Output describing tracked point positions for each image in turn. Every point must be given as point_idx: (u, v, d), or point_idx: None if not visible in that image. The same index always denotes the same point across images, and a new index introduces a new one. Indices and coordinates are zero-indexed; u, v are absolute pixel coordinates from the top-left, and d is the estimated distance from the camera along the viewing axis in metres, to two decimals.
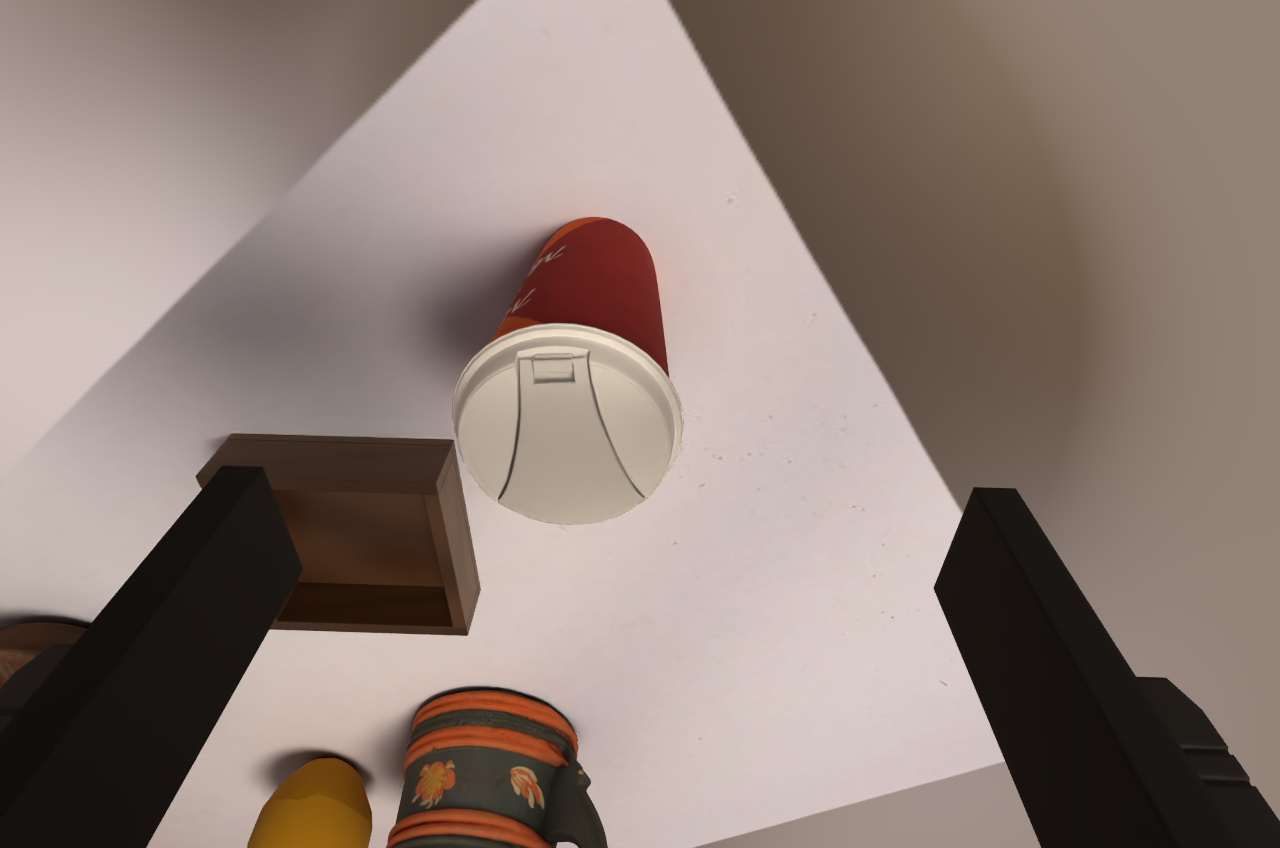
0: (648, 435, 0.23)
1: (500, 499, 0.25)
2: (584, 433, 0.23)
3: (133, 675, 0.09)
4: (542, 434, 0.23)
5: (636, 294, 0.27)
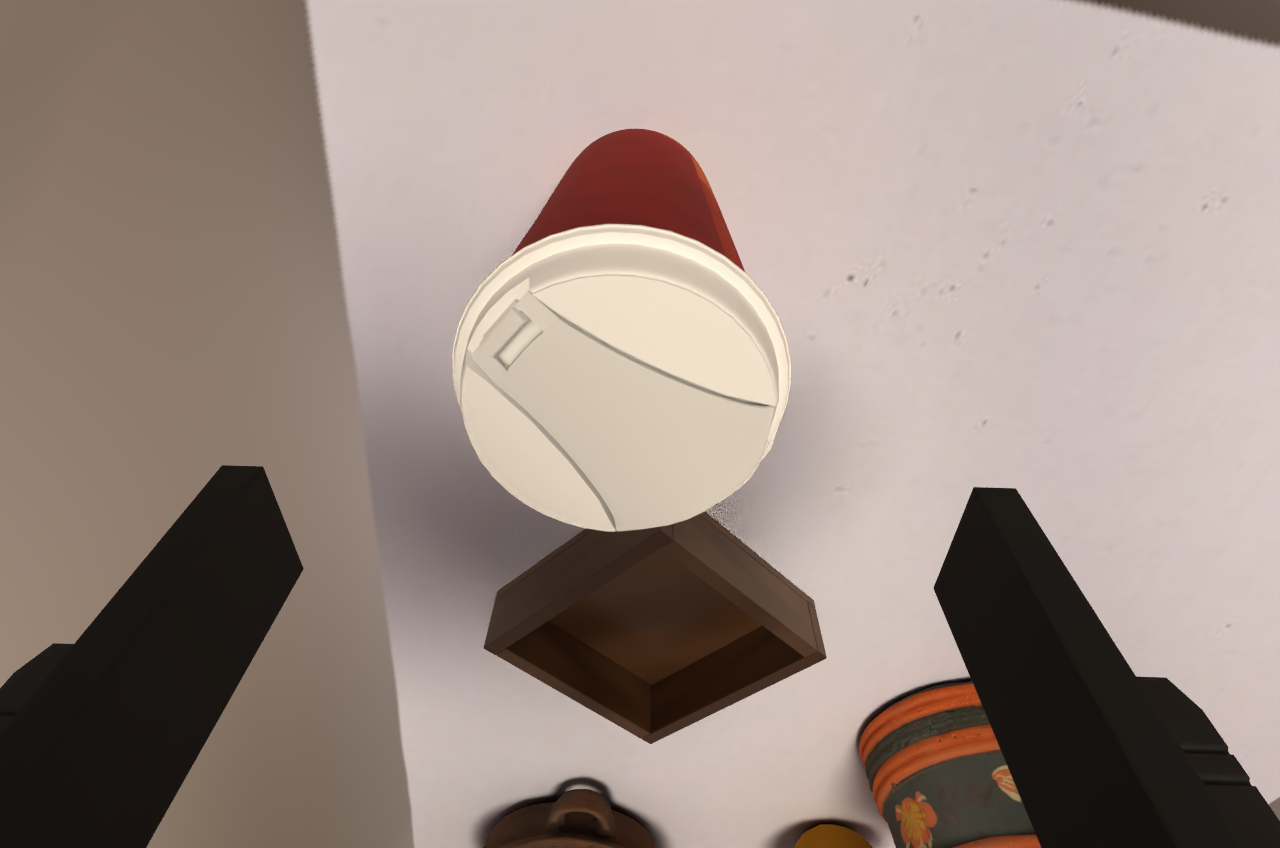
0: (691, 322, 0.14)
1: (618, 524, 0.18)
2: (619, 383, 0.15)
3: (133, 675, 0.09)
4: (577, 420, 0.16)
5: (618, 178, 0.19)
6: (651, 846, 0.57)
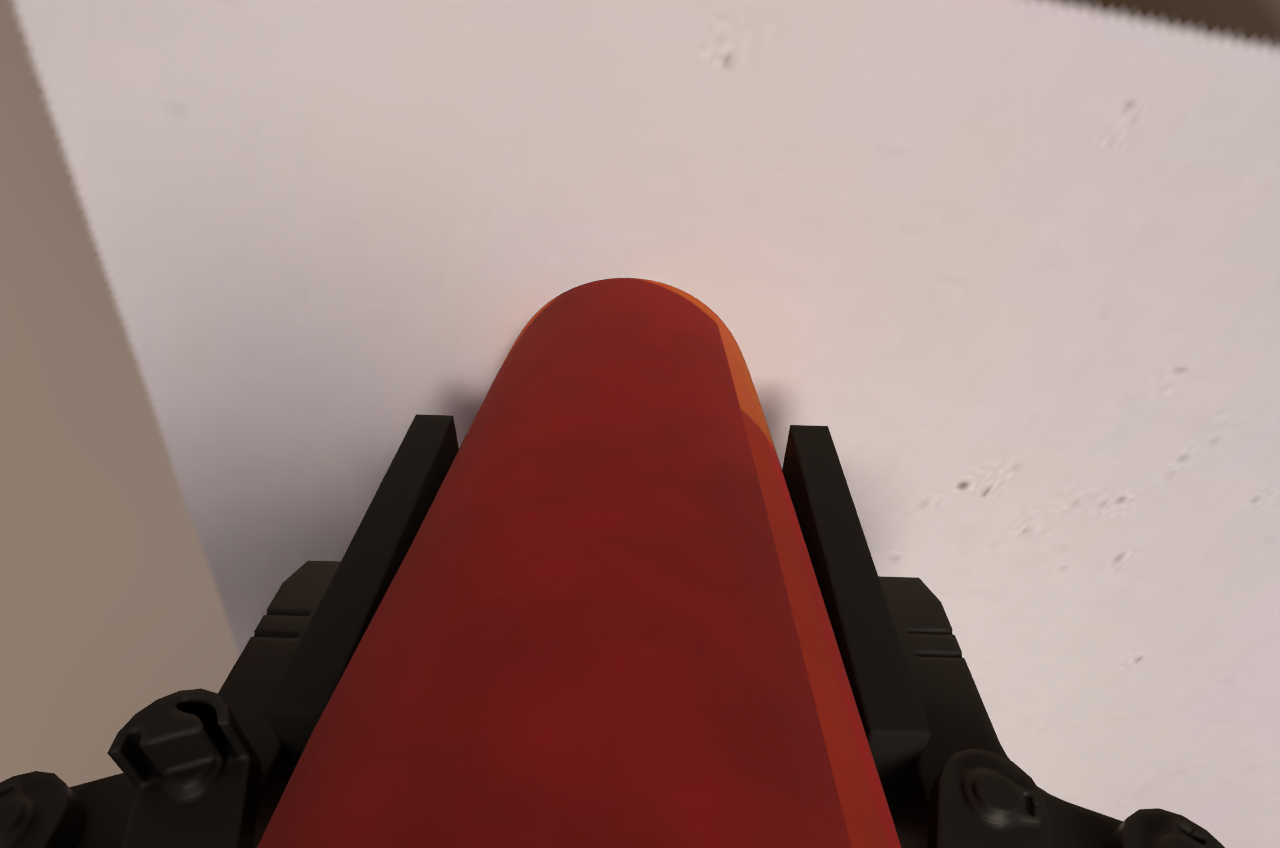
0: None
1: None
2: None
3: None
4: None
5: (577, 509, 0.08)
6: None
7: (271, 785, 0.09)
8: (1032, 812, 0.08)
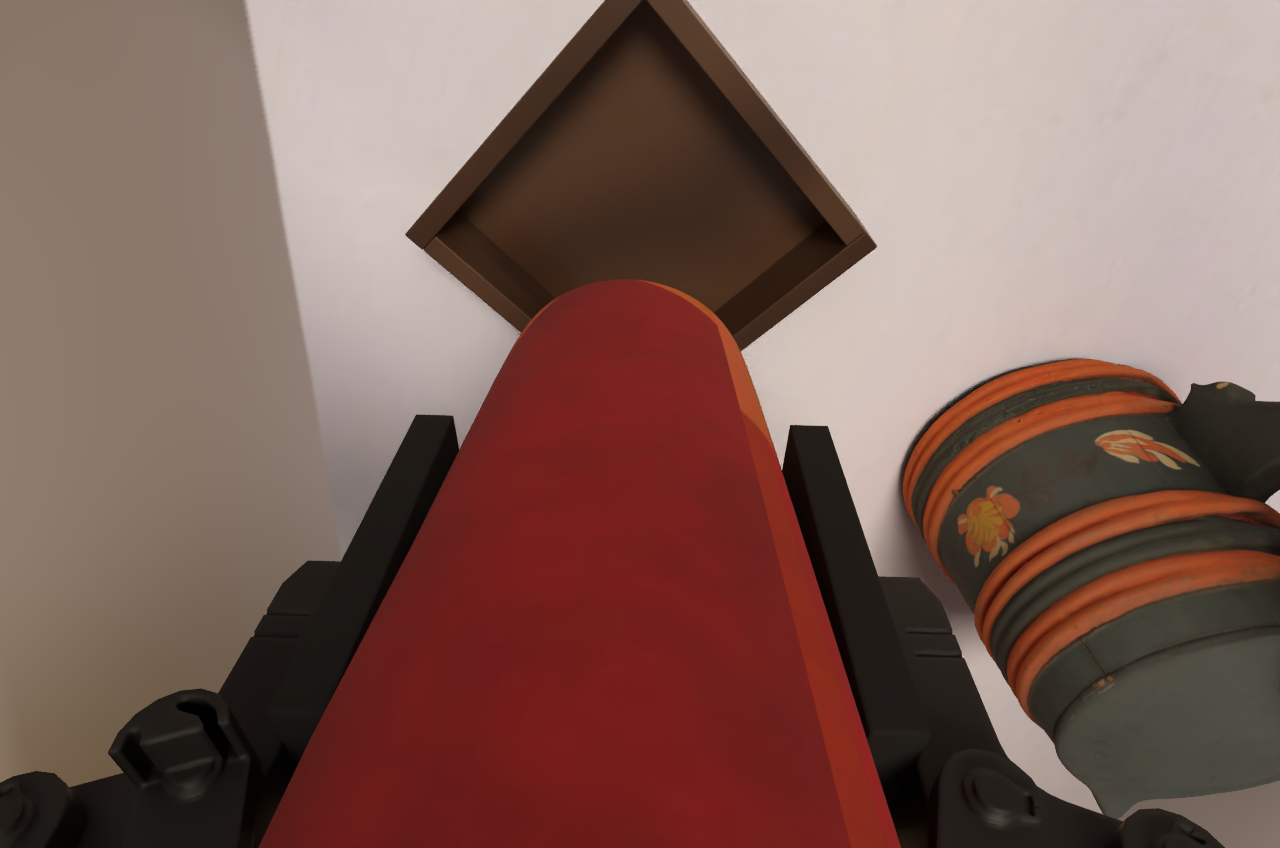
0: None
1: None
2: None
3: None
4: None
5: (576, 511, 0.08)
6: None
7: (271, 785, 0.09)
8: (1032, 812, 0.08)
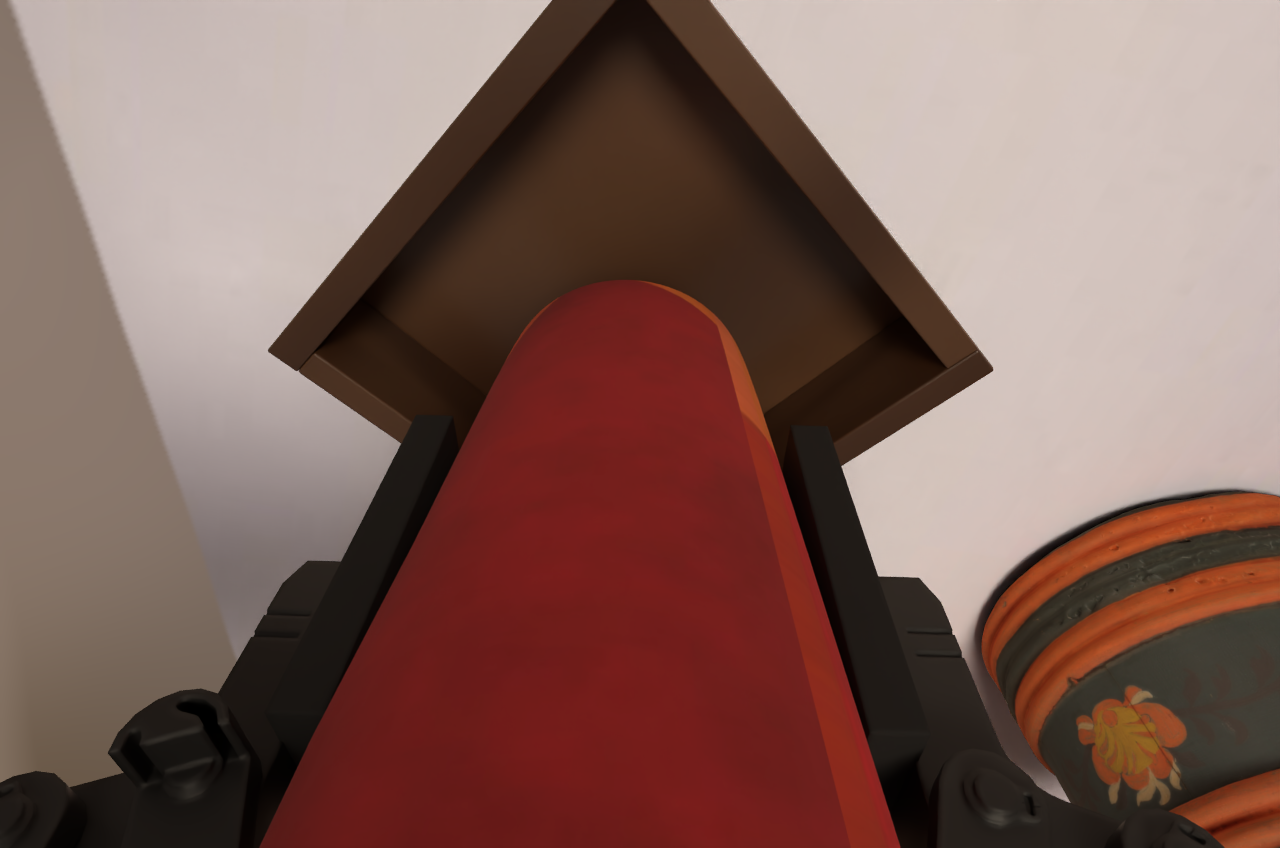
0: None
1: None
2: None
3: None
4: None
5: (577, 511, 0.08)
6: None
7: (271, 785, 0.09)
8: (1032, 812, 0.08)
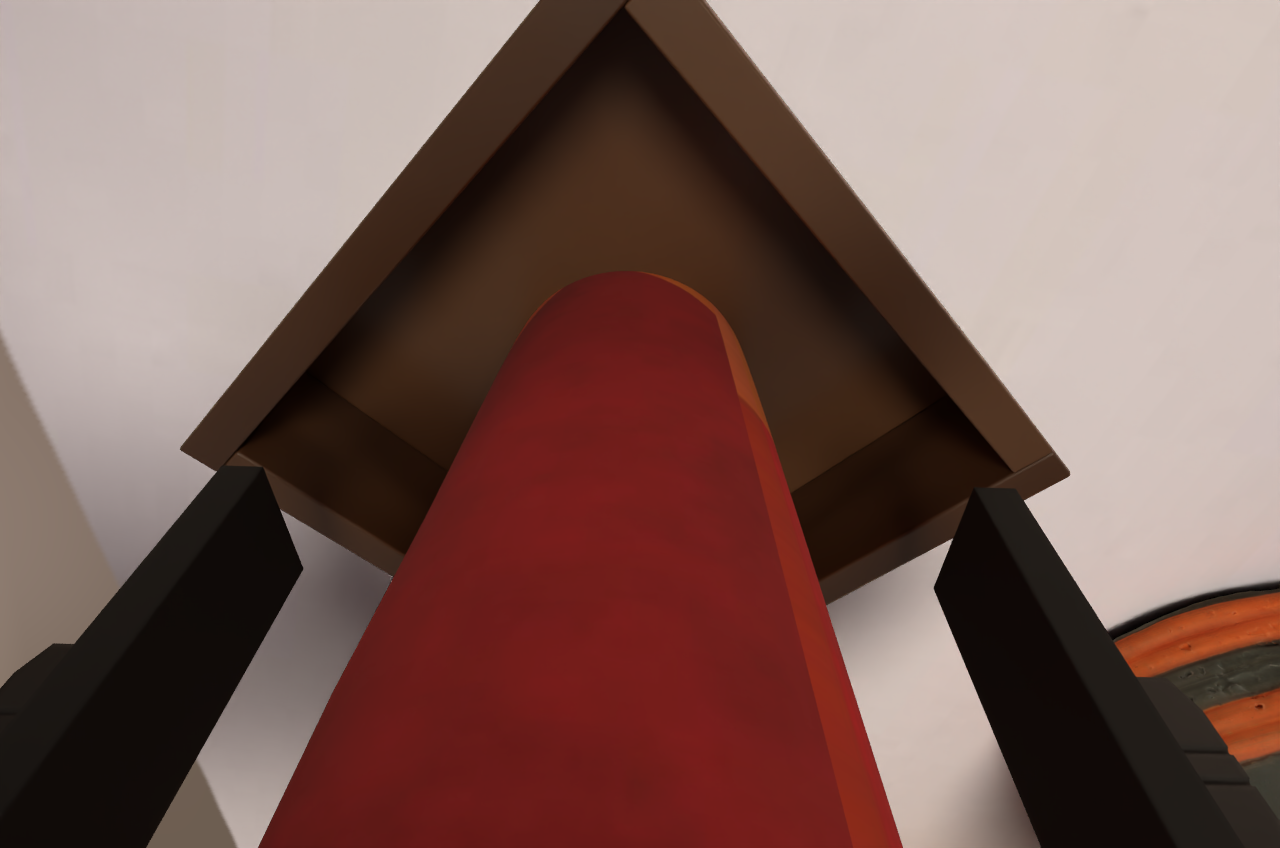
0: None
1: None
2: None
3: (133, 675, 0.09)
4: None
5: (581, 482, 0.09)
6: None
7: None
8: None
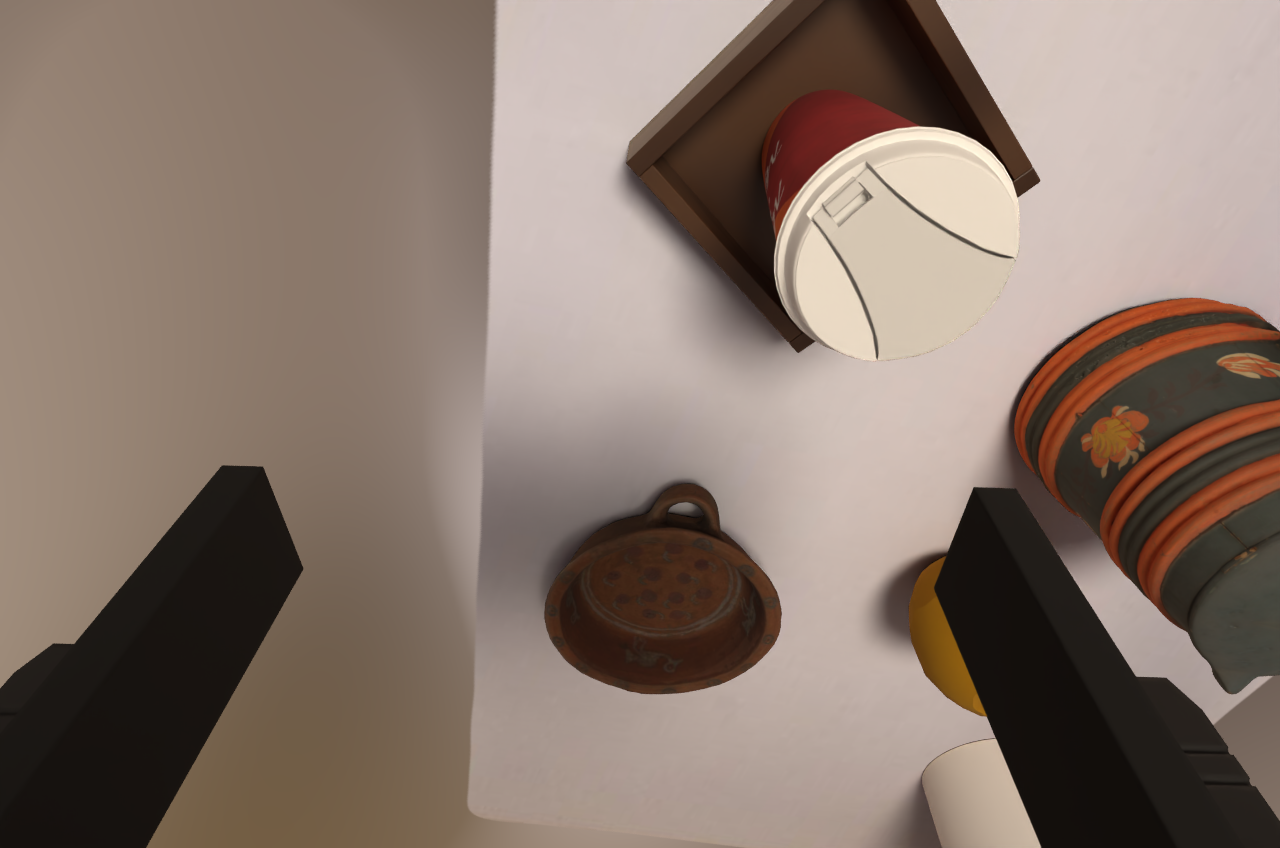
0: (975, 192, 0.21)
1: (879, 356, 0.25)
2: (912, 238, 0.22)
3: (133, 675, 0.09)
4: (876, 267, 0.23)
5: (869, 112, 0.26)
6: None
7: None
8: None
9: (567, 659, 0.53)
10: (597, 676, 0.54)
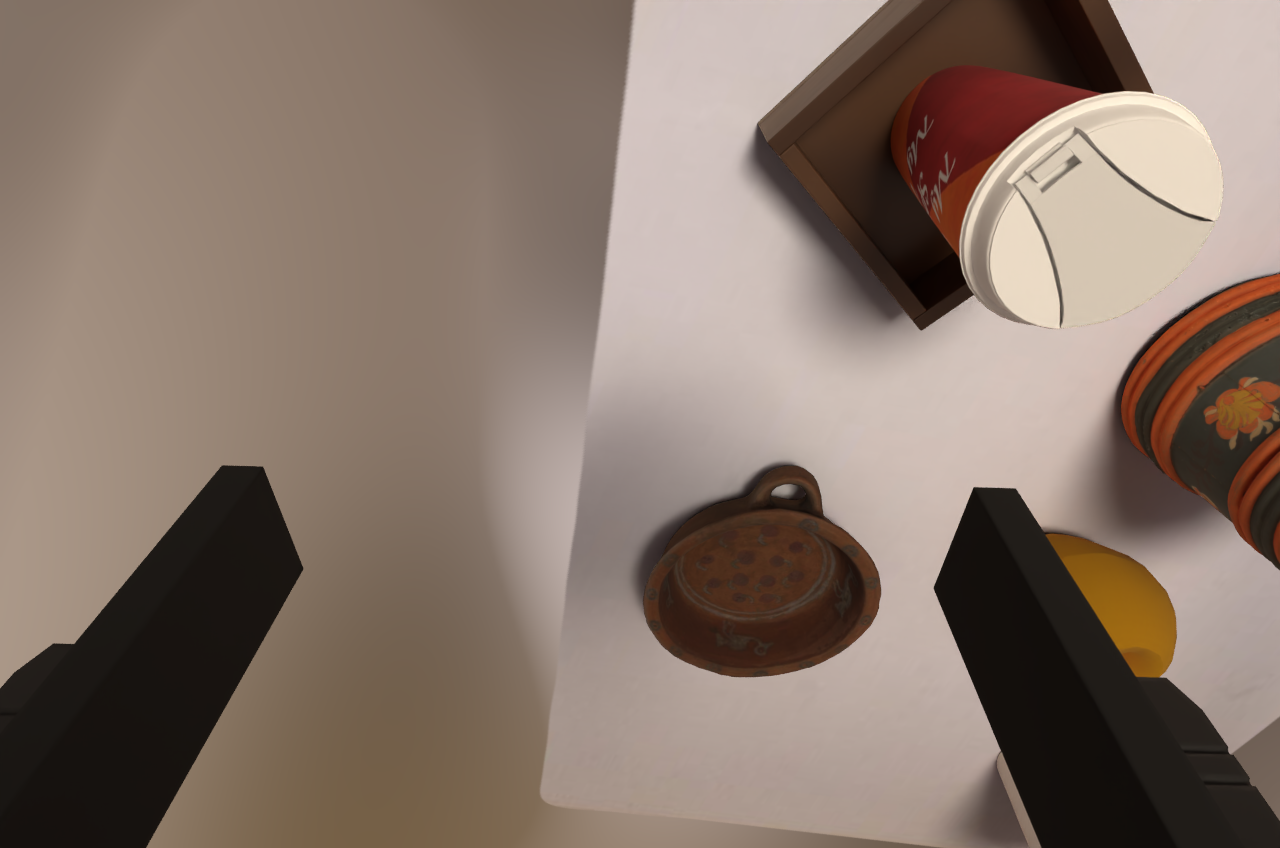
0: (1185, 155, 0.21)
1: (1062, 323, 0.25)
2: (1114, 203, 0.22)
3: (133, 675, 0.09)
4: (1073, 233, 0.23)
5: (1040, 82, 0.26)
6: None
7: None
8: None
9: (662, 642, 0.53)
10: (690, 660, 0.55)
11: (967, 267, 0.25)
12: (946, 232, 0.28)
